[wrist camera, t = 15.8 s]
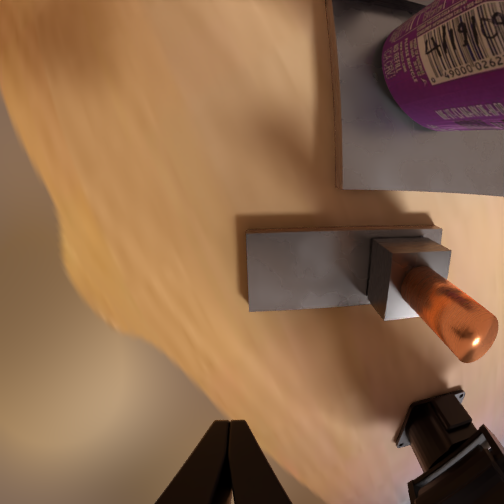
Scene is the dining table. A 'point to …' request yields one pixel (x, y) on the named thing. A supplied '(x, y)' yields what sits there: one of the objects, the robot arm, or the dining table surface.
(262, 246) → the rail
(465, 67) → the beverage can
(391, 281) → the lever
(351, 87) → the press bed
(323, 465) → the dining table surface
